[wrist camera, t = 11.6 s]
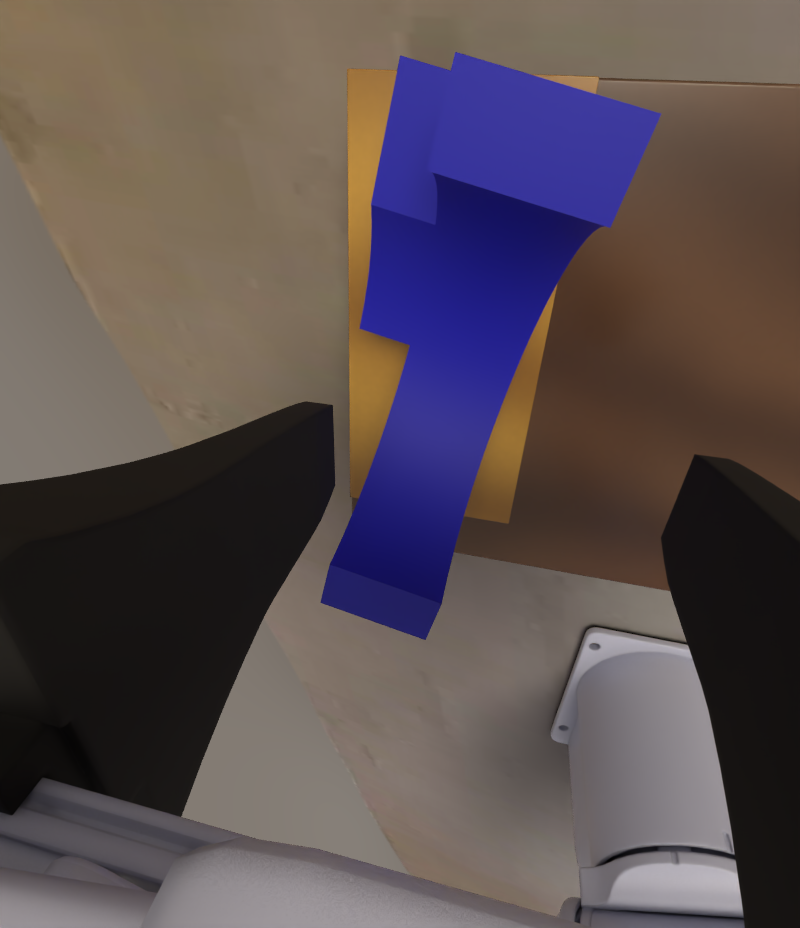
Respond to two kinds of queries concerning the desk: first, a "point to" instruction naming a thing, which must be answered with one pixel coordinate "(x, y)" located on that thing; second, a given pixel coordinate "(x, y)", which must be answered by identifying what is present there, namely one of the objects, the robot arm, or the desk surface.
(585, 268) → the walnut stand
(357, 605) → the cable clip
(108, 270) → the desk surface
